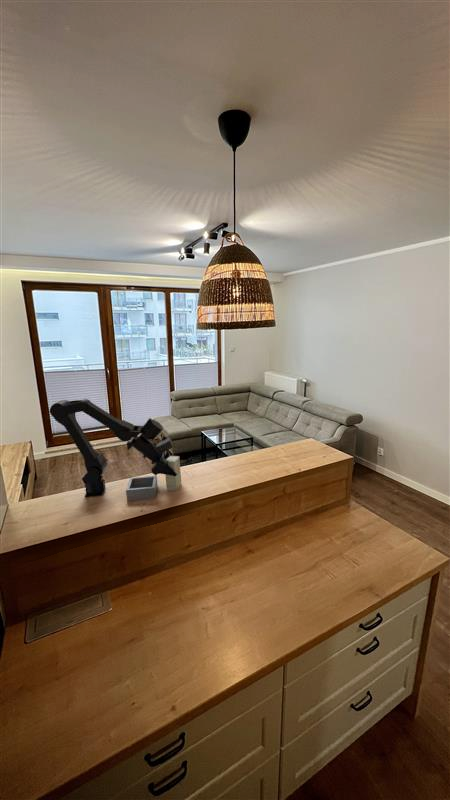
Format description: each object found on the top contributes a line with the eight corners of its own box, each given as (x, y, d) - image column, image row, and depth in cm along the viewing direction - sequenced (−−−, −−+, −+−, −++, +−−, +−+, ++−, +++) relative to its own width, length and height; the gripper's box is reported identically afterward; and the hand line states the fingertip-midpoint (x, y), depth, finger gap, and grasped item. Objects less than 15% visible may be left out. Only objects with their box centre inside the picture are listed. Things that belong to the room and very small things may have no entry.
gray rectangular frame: (127, 501, 120) (125, 490, 119) (131, 488, 131) (130, 477, 130) (155, 498, 122) (154, 487, 121) (157, 485, 132) (156, 475, 131)
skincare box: (176, 490, 127) (174, 462, 124) (166, 490, 128) (163, 461, 125) (181, 483, 133) (180, 456, 130) (171, 482, 134) (169, 455, 131)
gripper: (158, 440, 116) (190, 466, 120) (161, 425, 134) (189, 448, 138) (137, 462, 117) (170, 487, 120) (143, 445, 135) (172, 467, 138)
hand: (176, 471), depth 129 cm, fingers closed on skincare box, 7 cm apart
